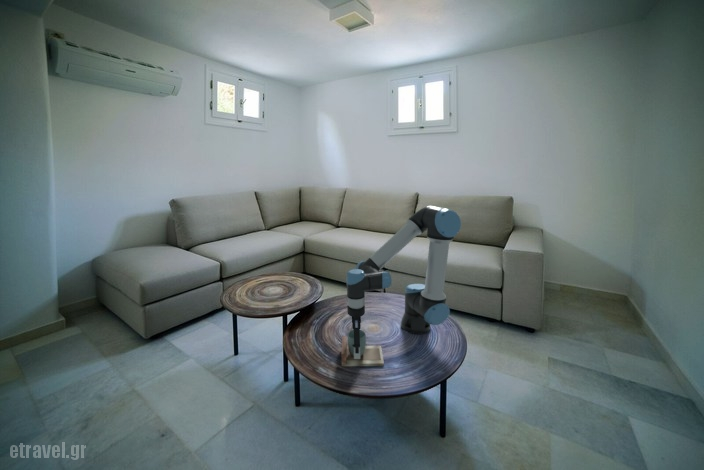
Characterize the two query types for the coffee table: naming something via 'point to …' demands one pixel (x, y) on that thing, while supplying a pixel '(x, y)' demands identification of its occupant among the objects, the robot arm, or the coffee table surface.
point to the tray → (369, 357)
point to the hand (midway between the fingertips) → (356, 348)
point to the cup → (351, 342)
